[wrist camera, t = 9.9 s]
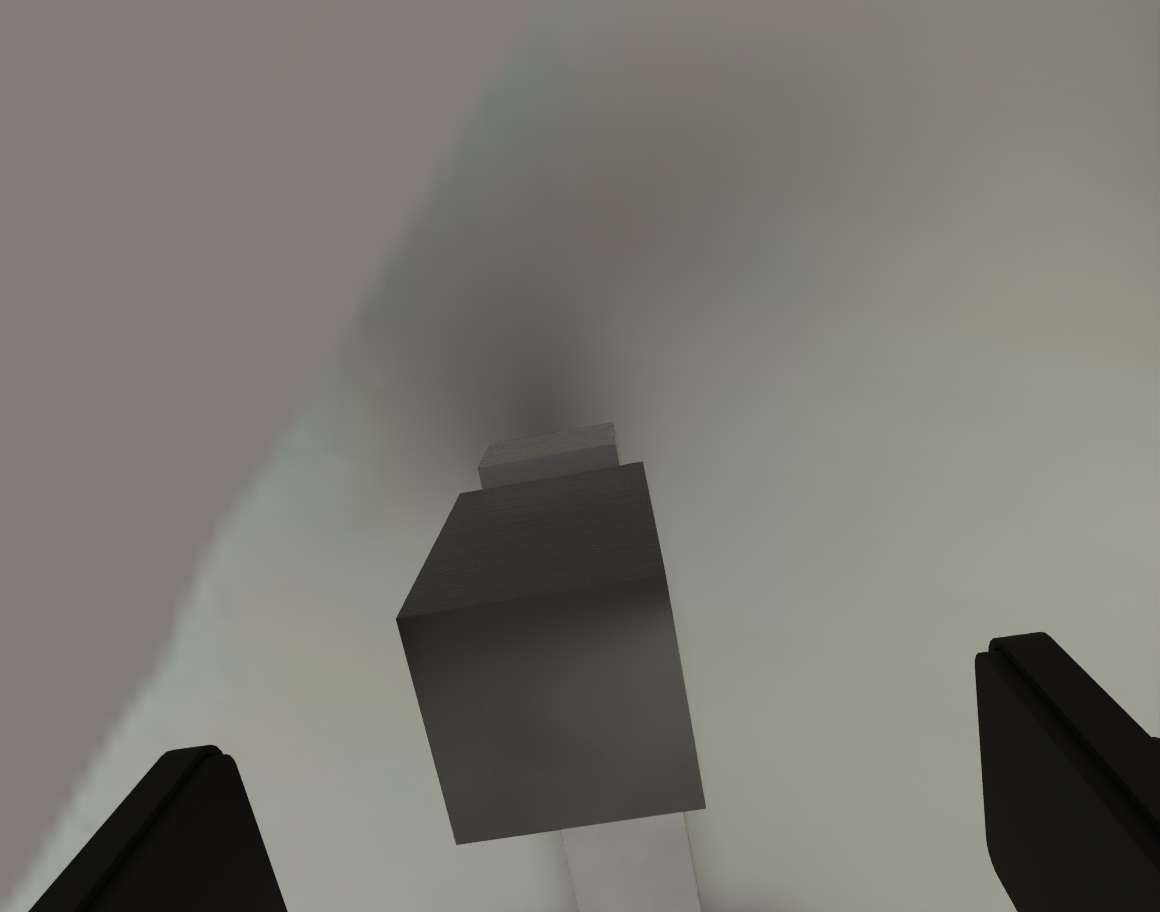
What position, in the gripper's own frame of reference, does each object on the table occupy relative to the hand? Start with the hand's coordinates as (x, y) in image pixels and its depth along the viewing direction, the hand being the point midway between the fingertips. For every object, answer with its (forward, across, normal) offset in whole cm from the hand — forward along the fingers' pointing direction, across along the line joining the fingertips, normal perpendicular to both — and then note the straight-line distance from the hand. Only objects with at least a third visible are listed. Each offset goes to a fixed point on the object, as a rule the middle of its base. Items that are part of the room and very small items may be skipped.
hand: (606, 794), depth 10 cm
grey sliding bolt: (+10, +1, +9) cm, 14 cm away
